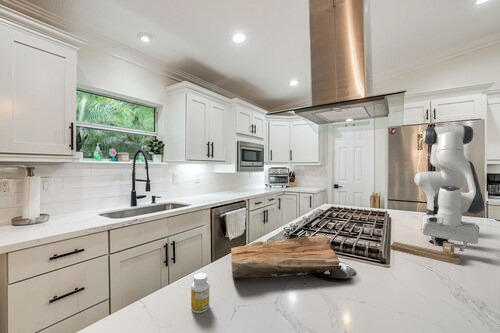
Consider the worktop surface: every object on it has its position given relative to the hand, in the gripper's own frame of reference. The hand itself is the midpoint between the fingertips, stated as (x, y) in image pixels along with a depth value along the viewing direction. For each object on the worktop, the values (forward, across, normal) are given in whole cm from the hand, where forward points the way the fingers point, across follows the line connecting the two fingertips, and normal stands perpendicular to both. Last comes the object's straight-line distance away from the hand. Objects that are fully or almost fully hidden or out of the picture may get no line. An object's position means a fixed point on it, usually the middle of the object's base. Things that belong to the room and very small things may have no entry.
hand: (448, 248), depth 111 cm
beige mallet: (+3, 0, +4) cm, 5 cm away
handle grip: (+4, +4, -18) cm, 19 cm away
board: (+3, +9, +7) cm, 12 cm away
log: (+4, +47, +71) cm, 85 cm away
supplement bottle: (+3, +53, +106) cm, 119 cm away
